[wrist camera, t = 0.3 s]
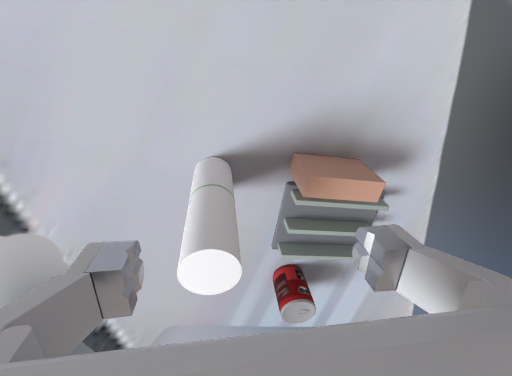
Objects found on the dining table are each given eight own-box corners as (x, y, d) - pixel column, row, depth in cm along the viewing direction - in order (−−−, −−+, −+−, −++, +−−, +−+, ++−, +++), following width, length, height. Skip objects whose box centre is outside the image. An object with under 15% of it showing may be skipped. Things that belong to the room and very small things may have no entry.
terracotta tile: (293, 152, 51) (308, 175, 42) (359, 159, 54) (386, 182, 45) (289, 171, 53) (303, 197, 44) (352, 176, 56) (377, 202, 47)
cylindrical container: (190, 184, 52) (170, 290, 30) (199, 152, 49) (185, 243, 27) (225, 193, 54) (230, 298, 32) (236, 162, 50) (250, 255, 29)
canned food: (303, 281, 70) (317, 319, 60) (274, 287, 70) (283, 327, 60) (301, 260, 66) (315, 298, 56) (269, 267, 66) (278, 306, 56)
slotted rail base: (286, 182, 54) (292, 195, 50) (382, 190, 58) (395, 202, 54) (271, 245, 62) (275, 261, 58) (356, 248, 66) (366, 263, 62)
